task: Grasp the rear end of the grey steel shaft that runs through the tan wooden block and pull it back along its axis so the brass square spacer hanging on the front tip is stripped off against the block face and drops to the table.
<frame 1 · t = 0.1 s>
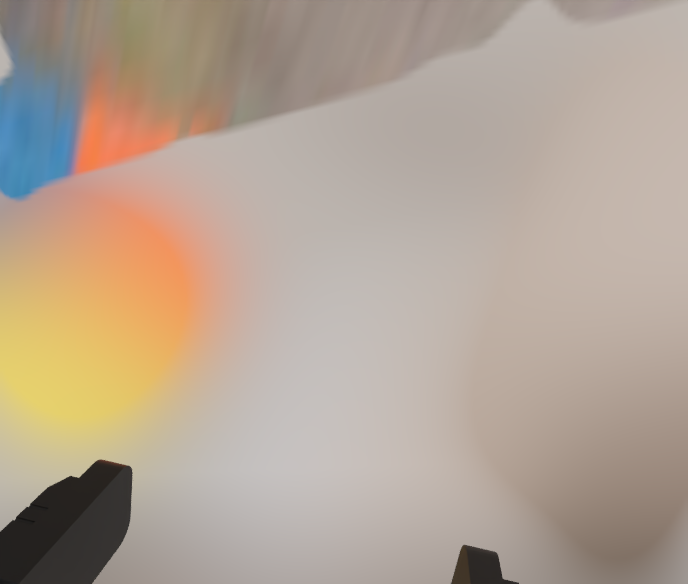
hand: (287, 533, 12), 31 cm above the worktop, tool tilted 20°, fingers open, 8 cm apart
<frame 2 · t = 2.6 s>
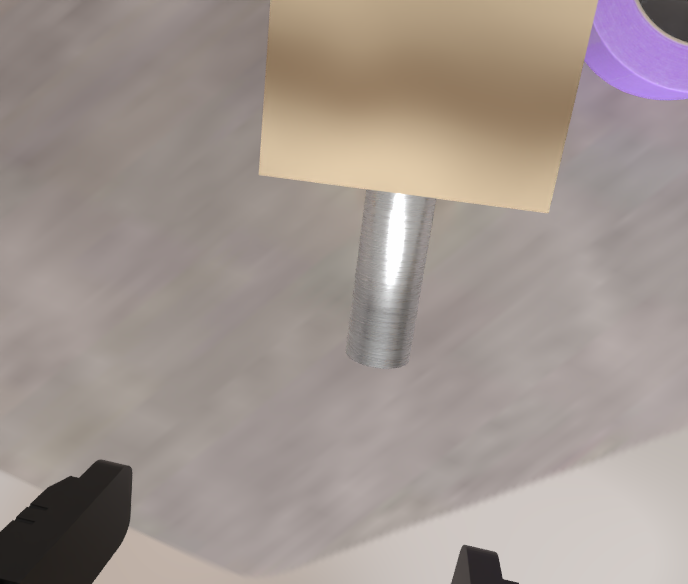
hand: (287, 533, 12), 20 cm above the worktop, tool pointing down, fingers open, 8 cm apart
shaft: (408, 146, 22), point 8 cm above the worktop, slide at 0.0 cm, touching spacer
tan wooden block: (416, 96, 28), on the worktop
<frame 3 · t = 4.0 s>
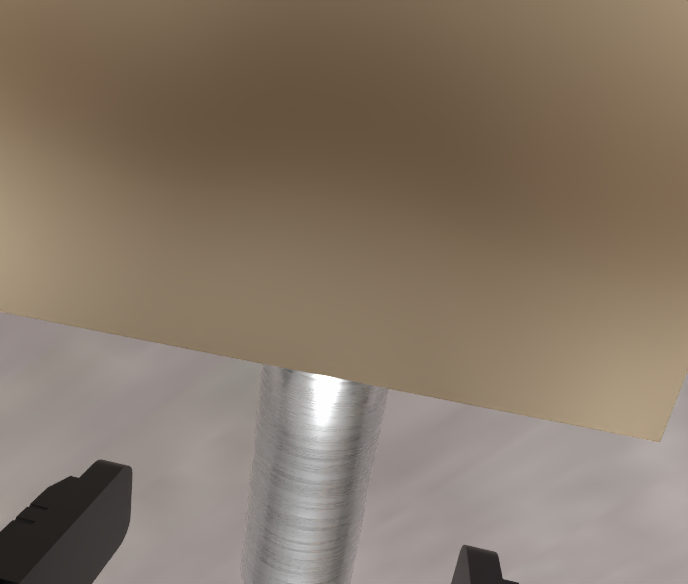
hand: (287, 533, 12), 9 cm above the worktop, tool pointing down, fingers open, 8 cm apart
shaft: (349, 216, 11), point 8 cm above the worktop, slide at 0.0 cm, touching spacer
tan wooden block: (388, 109, 18), on the worktop
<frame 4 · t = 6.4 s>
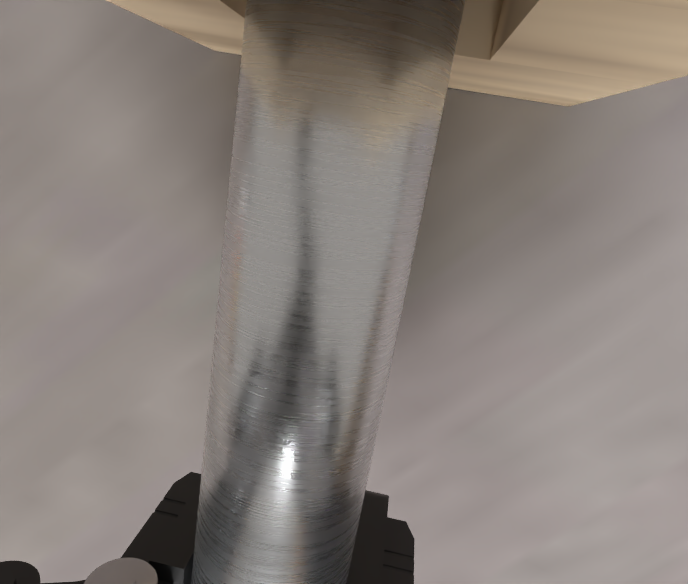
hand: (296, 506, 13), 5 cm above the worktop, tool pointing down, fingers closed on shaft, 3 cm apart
shaft: (316, 266, 9), point 8 cm above the worktop, slide at 5.3 cm, touching gripper
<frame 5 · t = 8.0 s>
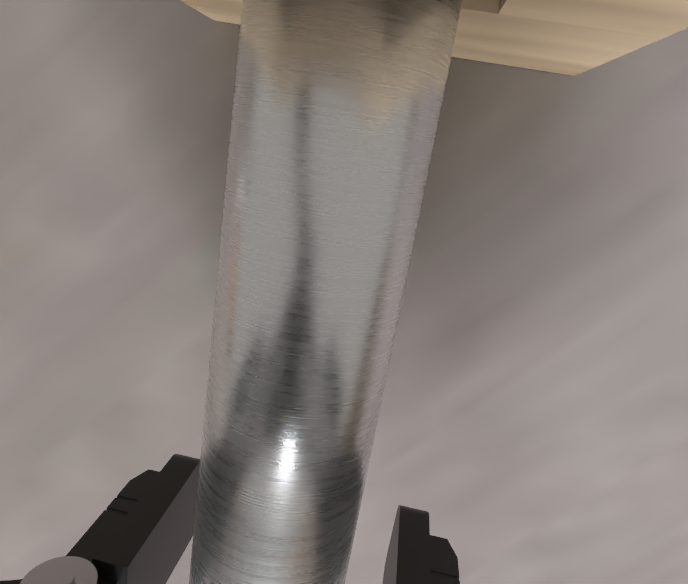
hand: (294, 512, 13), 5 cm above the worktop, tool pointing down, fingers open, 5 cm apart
shaft: (315, 255, 8), point 7 cm above the worktop, slide at 5.8 cm
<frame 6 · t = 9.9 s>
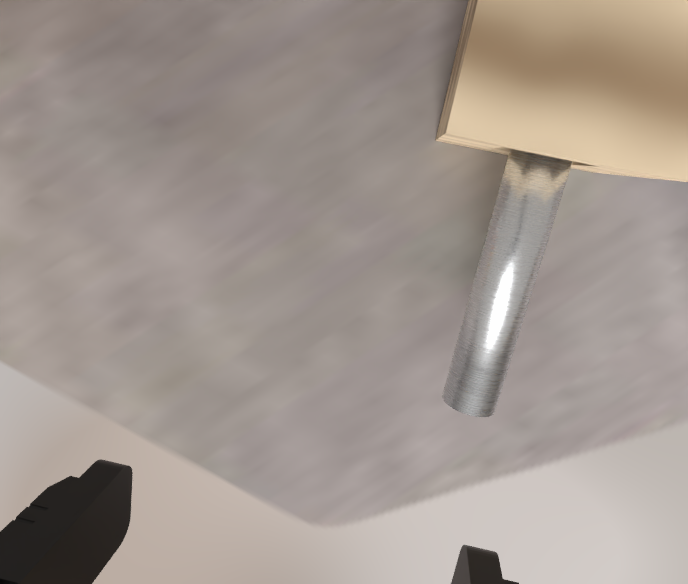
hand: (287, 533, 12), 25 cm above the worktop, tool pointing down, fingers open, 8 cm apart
shaft: (515, 240, 27), point 7 cm above the worktop, slide at 5.8 cm
tan wooden block: (531, 89, 32), on the worktop
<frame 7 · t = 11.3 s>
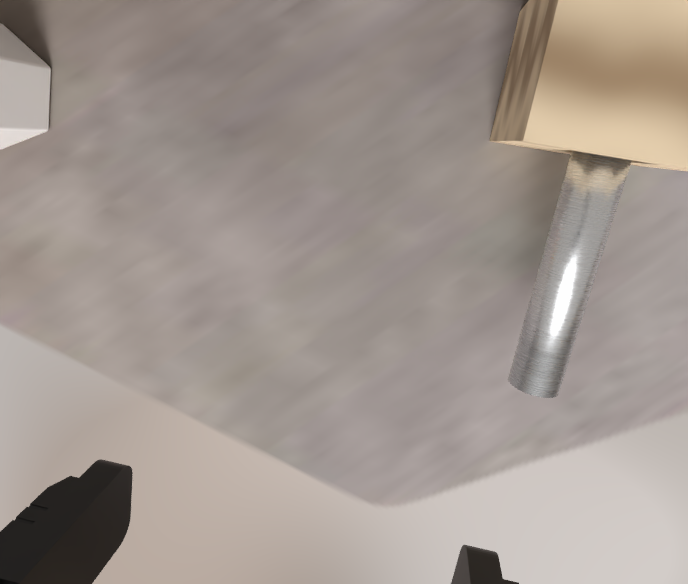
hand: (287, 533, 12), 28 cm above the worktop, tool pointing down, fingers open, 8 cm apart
shaft: (577, 234, 29), point 8 cm above the worktop, slide at 5.8 cm
tan wooden block: (581, 90, 34), on the worktop
jar: (5, 89, 39), on the worktop
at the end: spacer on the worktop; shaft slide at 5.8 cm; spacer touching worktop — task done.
